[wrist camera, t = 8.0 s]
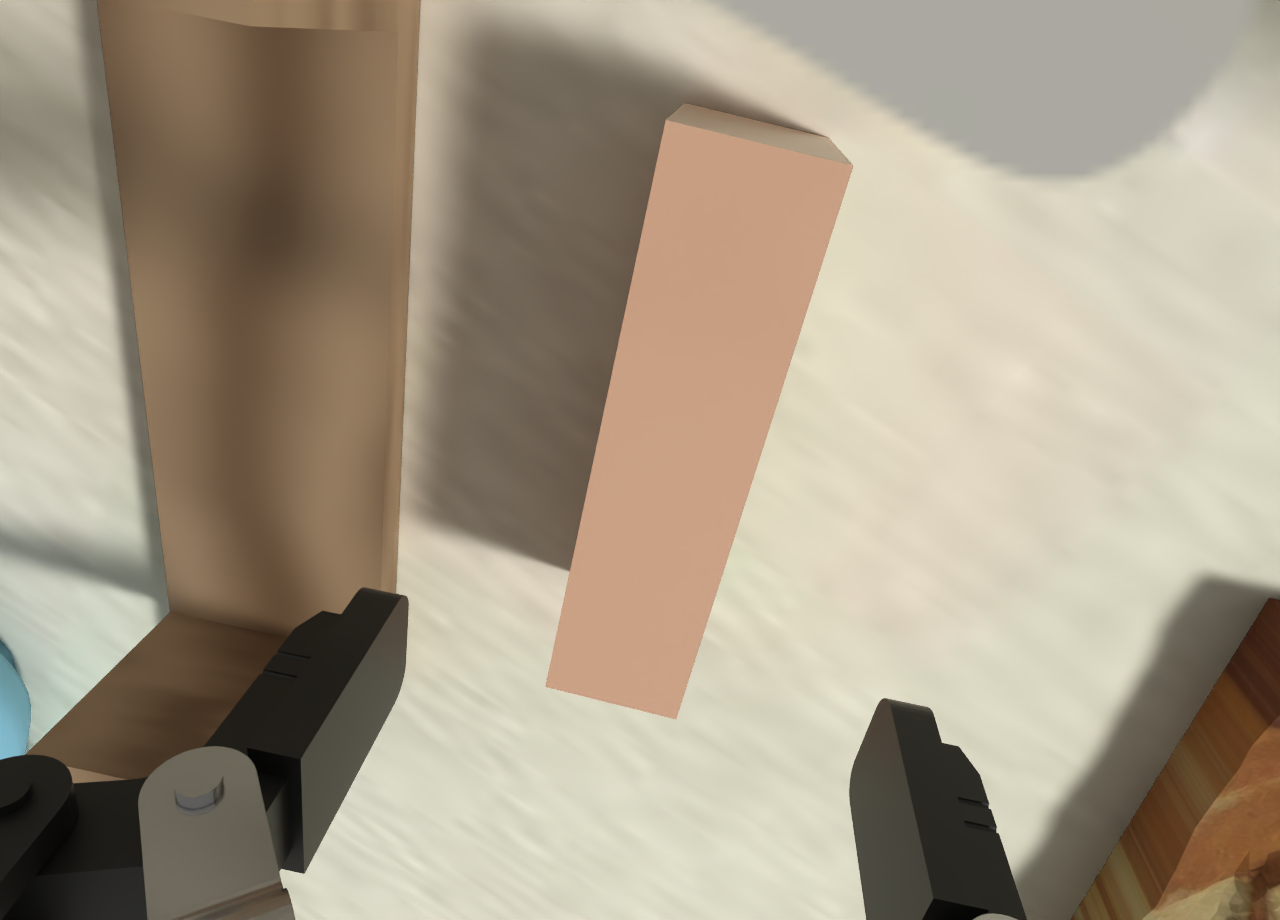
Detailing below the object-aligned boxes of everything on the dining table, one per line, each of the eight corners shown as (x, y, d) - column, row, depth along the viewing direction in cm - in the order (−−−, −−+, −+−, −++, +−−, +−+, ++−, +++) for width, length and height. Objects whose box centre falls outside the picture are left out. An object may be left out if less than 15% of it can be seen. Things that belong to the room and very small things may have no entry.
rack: (423, -81, 21) (242, -153, 13) (392, 681, 33) (287, 870, 25) (120, -140, 21) (-228, -243, 14) (199, 640, 33) (38, 815, 26)
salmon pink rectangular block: (828, 137, 22) (853, 165, 17) (689, 598, 30) (676, 719, 24) (685, 102, 22) (665, 119, 17) (581, 572, 30) (545, 686, 24)
